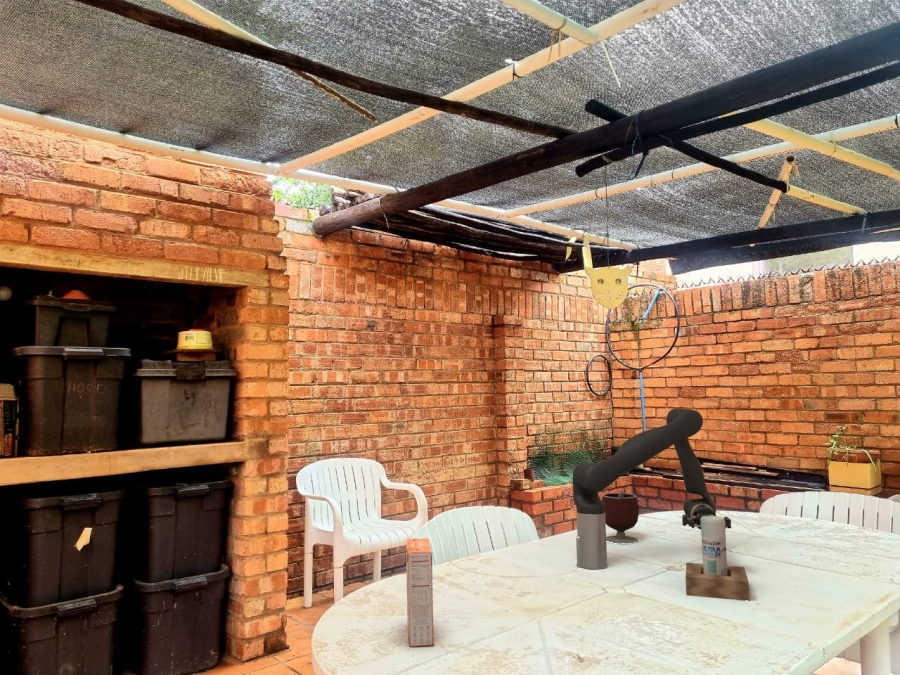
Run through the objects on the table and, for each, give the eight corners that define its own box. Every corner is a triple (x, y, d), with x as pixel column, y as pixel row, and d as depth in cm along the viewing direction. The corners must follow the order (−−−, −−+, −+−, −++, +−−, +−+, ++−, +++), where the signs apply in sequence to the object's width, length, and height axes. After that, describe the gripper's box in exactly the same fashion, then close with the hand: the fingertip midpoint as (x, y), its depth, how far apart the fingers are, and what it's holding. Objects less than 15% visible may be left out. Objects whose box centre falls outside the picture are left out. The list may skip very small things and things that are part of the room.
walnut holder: (686, 595, 177) (685, 576, 178) (686, 579, 192) (686, 562, 193) (749, 600, 172) (748, 581, 172) (745, 584, 187) (744, 566, 187)
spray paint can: (700, 589, 182) (696, 518, 184) (709, 584, 187) (705, 514, 189) (723, 594, 178) (719, 520, 180) (732, 589, 182) (728, 517, 184)
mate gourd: (600, 536, 253) (599, 485, 255) (637, 537, 251) (635, 485, 253) (604, 545, 238) (602, 490, 240) (643, 546, 236) (641, 491, 238)
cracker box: (406, 625, 156) (405, 538, 158) (430, 624, 157) (430, 537, 159) (407, 648, 142) (406, 551, 144) (434, 646, 143) (433, 550, 145)
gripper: (680, 503, 213) (682, 511, 198) (726, 506, 209) (732, 514, 194) (680, 526, 212) (683, 536, 197) (727, 529, 208) (733, 539, 193)
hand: (707, 525), depth 195 cm, fingers open, 8 cm apart
